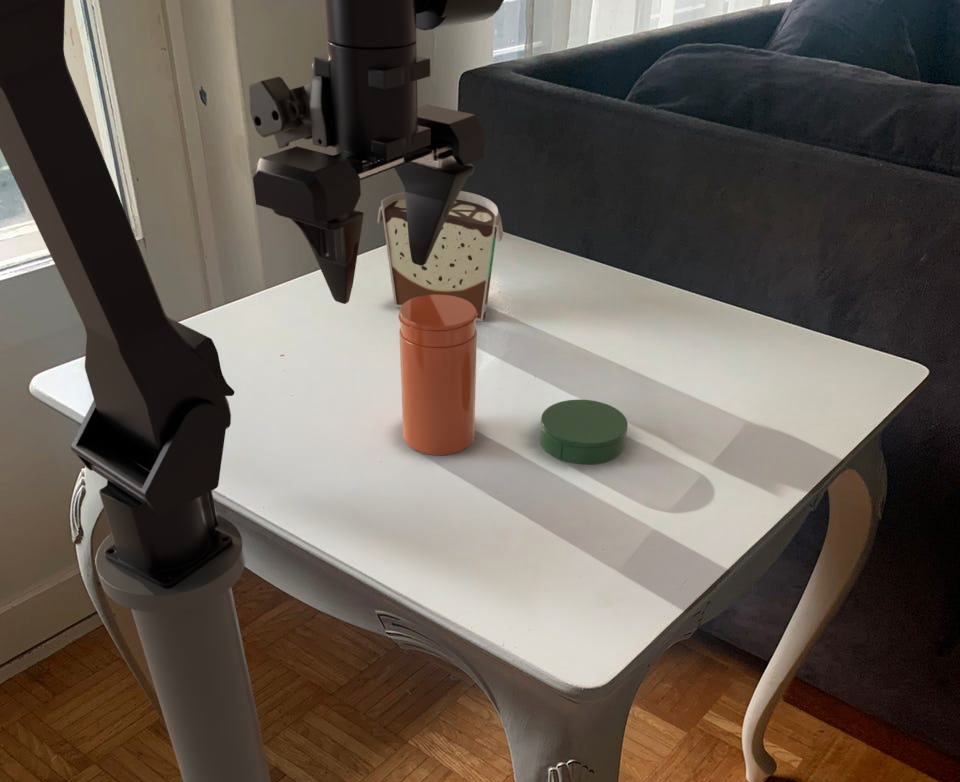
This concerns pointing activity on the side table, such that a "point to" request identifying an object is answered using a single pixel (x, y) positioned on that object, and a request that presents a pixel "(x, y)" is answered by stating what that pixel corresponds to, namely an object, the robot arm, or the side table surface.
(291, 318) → the side table surface
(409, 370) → the jar
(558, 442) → the green cylinder
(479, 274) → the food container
